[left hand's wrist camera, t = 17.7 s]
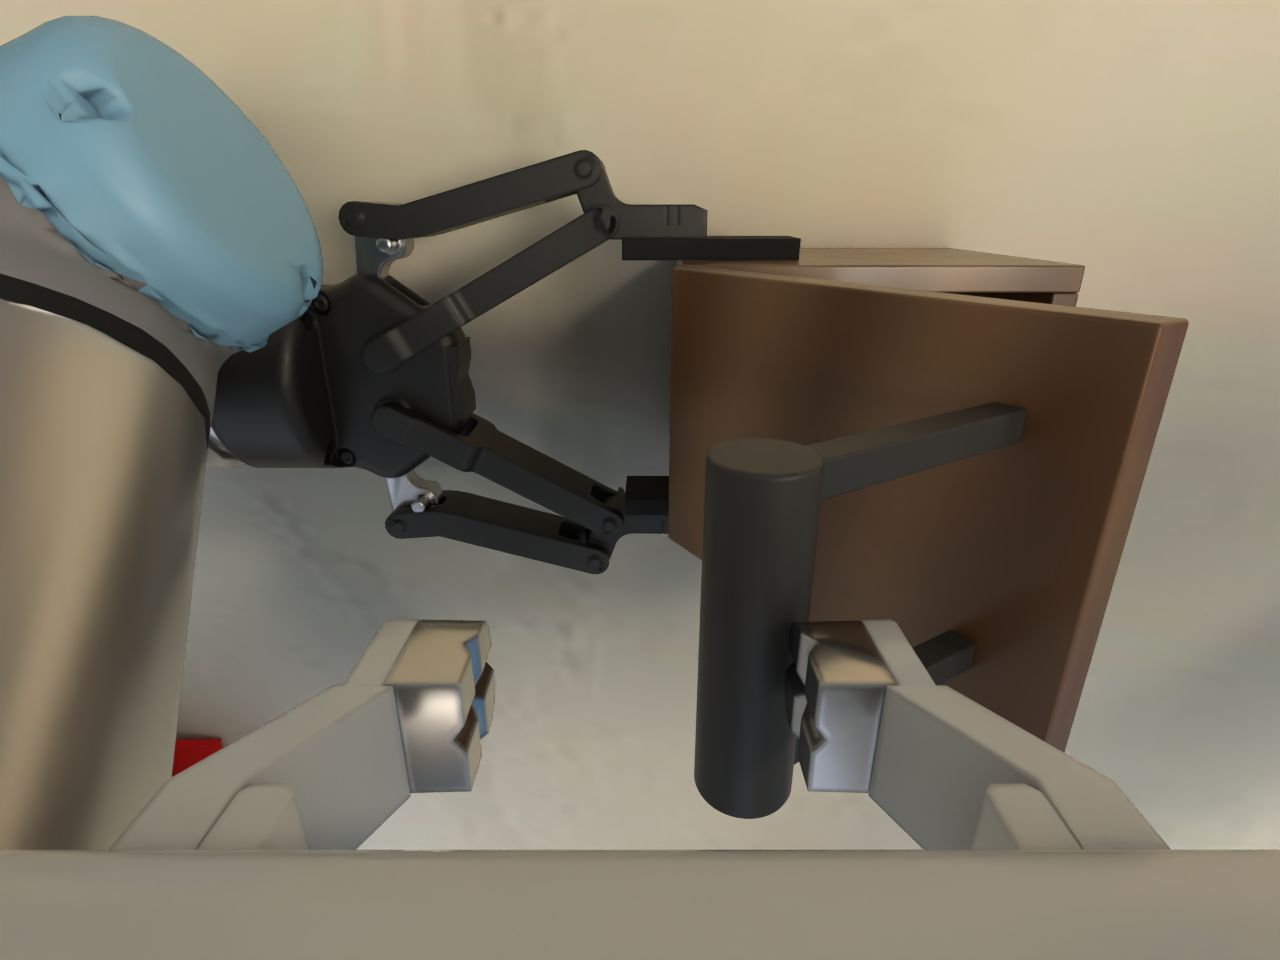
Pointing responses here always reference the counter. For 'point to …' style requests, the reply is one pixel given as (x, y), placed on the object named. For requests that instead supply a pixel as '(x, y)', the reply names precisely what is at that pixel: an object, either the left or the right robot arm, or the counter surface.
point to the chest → (927, 271)
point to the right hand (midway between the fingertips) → (782, 380)
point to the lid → (899, 492)
